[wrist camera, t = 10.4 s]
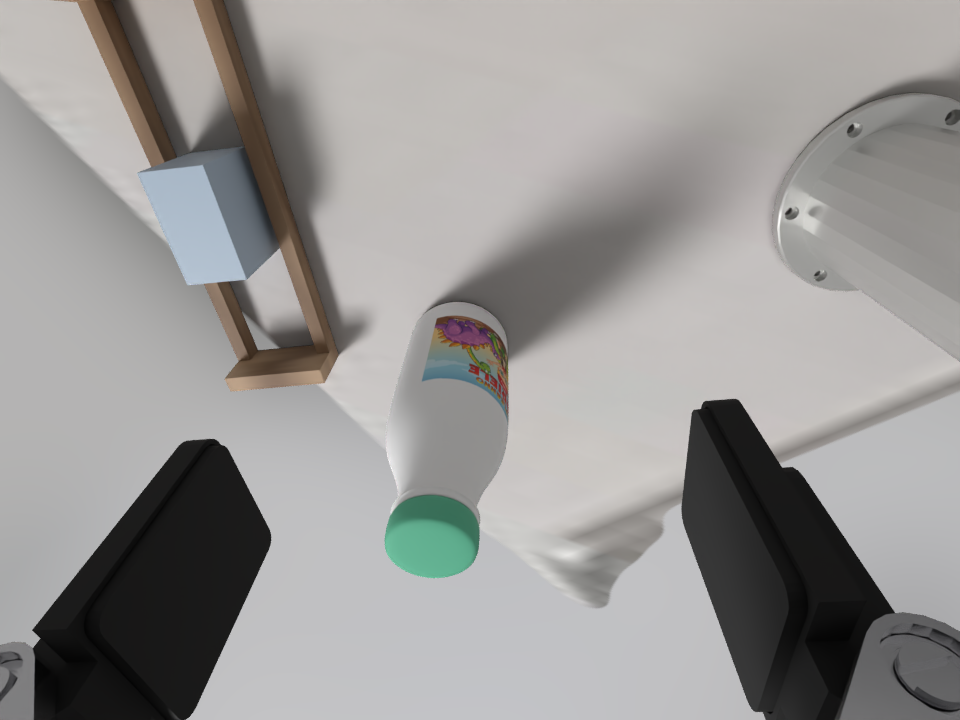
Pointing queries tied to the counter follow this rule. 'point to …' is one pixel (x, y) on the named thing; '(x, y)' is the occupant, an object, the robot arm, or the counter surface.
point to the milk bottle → (446, 437)
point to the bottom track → (274, 363)
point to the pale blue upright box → (211, 214)
